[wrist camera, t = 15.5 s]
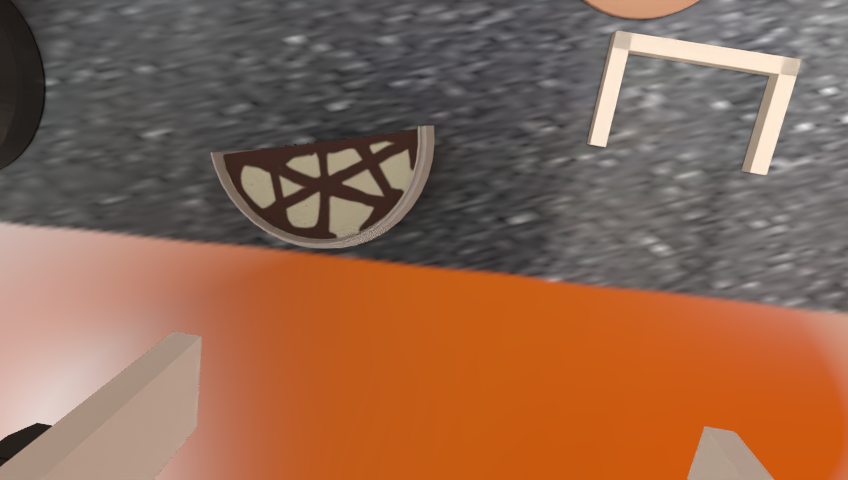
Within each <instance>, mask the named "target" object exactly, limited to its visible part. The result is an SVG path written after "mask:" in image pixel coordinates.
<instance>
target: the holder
mask: <svg viewBox="0 0 848 480" xmlns="http://www.w3.org/2000/svg"><path fill="white" fill-rule="evenodd" d="M628 54H634V55H640V56H646V57H653V58H659V59H665V60H671V61H678V62H684V63H690V64H696V65H703V66H709V67H715V68H721V69H728V70H734V71H740V72H746V73H753V74H759V75H765V76H769V79H768V82H767V85H766V89H765V92H764V96H763V99H762V102H761V106H760V109H759V112H758V116H757V119H756V123H755V126H754V129H753V133H752V136H751V140H750V143H749V146H748V150H747V153H746V156H745V160H744V163H743V167H742V170H741V171H744V172H749V173H755V174H762V175H767V171H768V168H769V165H770V162H771V158H772V155H773V152H774V149H775V145H776V142H777V139H778V135H779V132H780V129H781V126H782V122H783V119H784V116H785V113H786V109H787V106H788V103H789V99H790V96H791V93H792V90H793V86H794V83H795V80H796V77H797V73H798V70H799V67H800V63H801V59H795V58H788V57H782V56H775V55H769V54H763V53H756V52H750V51H744V50H737V49H731V48H724V47H718V46H712V45H705V44H699V43H693V42H686V41H680V40H674V39H667V38H661V37H654V36H648V35H642V34H635V33H629V32H623V31H615V32H614V33H613V34H612V37H611V42H610V46H609V50H608V55H607V59H606V63H605V68H604V72H603V76H602V80H601V85H600V89H599V93H598V98H597V102H596V106H595V110H594V115H593V119H592V123H591V128H590V132H589V136H588V141H587V144H589V145H595V146H601V147H606V144H607V139H608V135H609V131H610V127H611V123H612V119H613V114H614V110H615V106H616V102H617V98H618V94H619V89H620V85H621V81H622V77H623V73H624V69H625V64H626V60H627V56H628Z"/></svg>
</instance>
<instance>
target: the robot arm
mask: <svg viewBox="0 0 848 480" xmlns="http://www.w3.org/2000/svg"><path fill="white" fill-rule="evenodd" d="M43 96H44V82H43V72H42V66H41V61H40V57H39V53H38V50H37V47H36V44H35V42H34V39H33V37H32V35H31V33H30V31H29V29H28V27H27V25H26V23H25V21H24V20H23V18H22V17H21V15H20V14H19V12H18V11H17V10H16V8H15V7H14V6H13V5H12V3H11V2H10V1H9V0H0V169H1V168H3V167H5V166H6V165H8V164H9V163H11V162H12V161H13V160H14V159H15V158H17V157H18V156H19V155H20V154H21V152H22V151H23V150H24V149H25V148H26V146H27V145H28V143H29V142H30V140H31V138H32V137H33V135H34V133H35V130H36V128H37V125H38V123H39V119H40V116H41V111H42V106H43ZM201 342H202V337H201V336H197V335H192V334H186V333H181V332H175V331H173V332H172V333H171V334H169V335H168V336H167V337H165V338H164V339H163V340H162V341H160V342H159V343H158V344H157V345H155V346H154V347H153V348H151V349H150V350H149V351H148V352H146V353H145V354H144V355H143V356H141V357H140V358H139V359H138V360H136V361H135V362H134V363H132V364H131V365H130V366H129V367H127V368H126V369H125V370H124V371H122V372H121V373H120V374H118V375H117V376H116V377H114V378H113V379H112V380H111V381H109V382H108V383H107V384H106V385H104V386H103V387H102V388H100V389H99V390H98V391H97V392H95V393H94V394H93V395H92V396H90V397H89V398H88V399H86V400H85V401H84V402H83V403H81V404H80V405H79V406H77V407H76V408H75V409H74V410H72V411H71V412H70V413H68V414H67V415H66V416H65V417H63V418H62V419H61V420H60V421H58V422H57V423H56V424H54V425H53V426H51V425H46V424H40V423H36V424H34V425H32V426H29V427H27V428H24V429H22V430H20V431H18V432H15V433H13V434H11V435H8V436H7V437H5V438H4V439H3V440H1V441H0V480H154V479H155V477H156V476H157V475H158V474H159V473H160V472H161V470H162V469H163V468H164V467H165V466H166V464H167V463H168V462H169V461H170V459H171V458H172V457H173V456H174V455H175V453H176V452H177V451H178V450H179V449H180V447H181V446H182V445H183V444H184V443H185V441H186V440H187V439H188V438H189V436H190V435H191V434H192V433H193V432H194V430H195V429H196V428H197V419H198V418H197V417H198V400H199V381H200V362H201ZM687 480H774V479H773V478H772V477H771V475H770V474H769V473H768V472H767V470H766V469H765V468H764V467H763V465H762V464H761V463H760V462H759V461H758V459H757V458H756V457H755V456H754V454H753V453H752V452H751V451H750V450H749V448H748V447H747V446H746V445H745V444H744V442H743V441H742V440H741V439H740V437H739V436H738V435H737V434H736V433H735V432H733V431H728V430H722V429H716V428H711V427H704V430H703V433H702V436H701V439H700V442H699V445H698V448H697V451H696V454H695V457H694V460H693V463H692V466H691V469H690V472H689V475H688V478H687Z"/></svg>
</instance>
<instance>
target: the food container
mask: <svg viewBox="0 0 848 480" xmlns="http://www.w3.org/2000/svg"><path fill="white" fill-rule="evenodd" d="M434 143H435V141H434V126H418V129H417V130H409V131H400V132H394V133H382V134H376V135H370V136H363V137H356V138H349V139H348V138H343V139H340V140H334V141H326V142H324V141H323V142H318V141H316V142H314V143H310V144H309V143H307V144H302V145H297V144H295V145H294V146H287V145H285V147H276V148H268V149H264V148H263V149H257V150H243V151H229V152H215V153H211V156H212V160H213V164H214V167H215V170H216V172H217V175H218V177H219V179H220V182H221V184H222V186H223V187H224V189H225V191H226V192H227V194H228V196H229V197H230V199H231V200H232V201H233V202H234V204H235V205H236V206H237V207H238V209H239V210H240V211H241V212H242V213H243V214H244V215H245V216H247V217H248V218H249V219H250V220H251V221H252V222H253V223H254V224H255V225H257V226H258V227H260V228H261V229H263V230H264V231H266V232H267V233H269V234H271V235H273V236H275V237H277V238H279V239H281V240H283V241H286V242H289V243H292V244H295V245H299V246H305V247H312V248H343V247H348V246H354V245H358V244H361V243H364V242H366V241H369V240H372V239H374V238H376V237H377V236H379V235H381V234H383V233H385V232H386V231H388V230H389V229H390V228H391V227H393V226H394V225H395V224H397V223H398V222H399V221H400V220H401V219H402V218H403V217H404V216H405V215H406V214H407V212H408V211H409V210H410V209H411V208H412V206H413V205H414V203H415V202H416V200H417V199H418V197H419V196H420V194H421V192H422V190H423V188H424V185H425V183H426V181H427V179H428V175H429V172H430V168H431V164H432V161H433V152H434Z"/></svg>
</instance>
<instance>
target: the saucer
mask: <svg viewBox="0 0 848 480" xmlns="http://www.w3.org/2000/svg"><path fill="white" fill-rule="evenodd" d="M582 1H584V2H585V3H586V4H588V5H589V6H591V7H593V8H594V9H596V10H598V11H600V12H602V13H605V14H607V15H610V16H613V17H618V18H622V19H631V20H647V19H655V18H660V17H664V16H668V15H671V14H674V13H677V12H679V11H681V10H683V9H685V8H688V7H689V6H691V5H693V4H694V3H696V2H698V1H699V0H582Z"/></svg>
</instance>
